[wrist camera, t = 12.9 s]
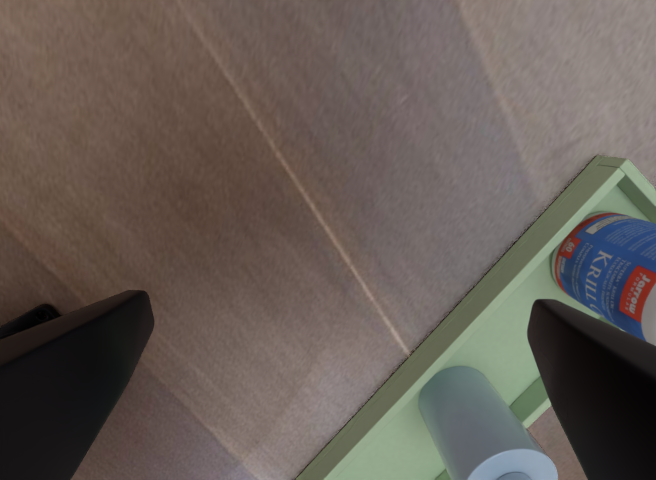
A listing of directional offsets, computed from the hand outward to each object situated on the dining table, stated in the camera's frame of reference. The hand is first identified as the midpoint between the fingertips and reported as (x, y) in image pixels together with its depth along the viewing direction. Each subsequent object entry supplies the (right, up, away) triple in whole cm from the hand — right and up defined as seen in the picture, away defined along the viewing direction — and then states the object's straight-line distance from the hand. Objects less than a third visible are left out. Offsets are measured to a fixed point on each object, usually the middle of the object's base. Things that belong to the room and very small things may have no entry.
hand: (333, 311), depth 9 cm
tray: (+8, -8, +16) cm, 20 cm away
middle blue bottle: (+8, -8, +16) cm, 19 cm away
